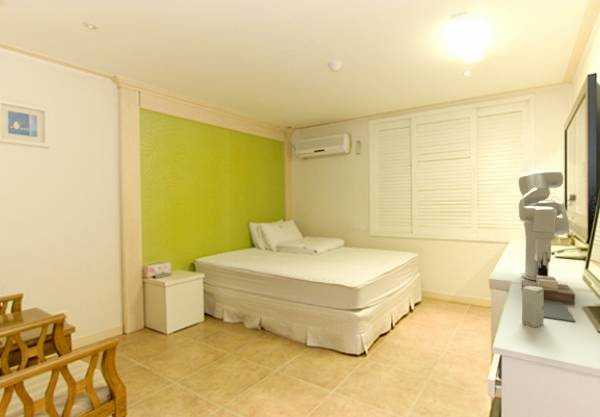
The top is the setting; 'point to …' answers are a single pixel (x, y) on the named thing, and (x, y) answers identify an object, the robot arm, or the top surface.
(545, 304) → the mat
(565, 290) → the step
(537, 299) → the skincare box
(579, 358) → the top surface
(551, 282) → the beige rectangular block
